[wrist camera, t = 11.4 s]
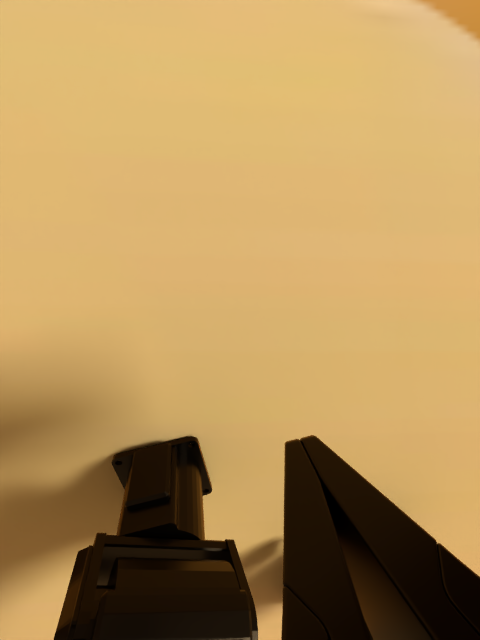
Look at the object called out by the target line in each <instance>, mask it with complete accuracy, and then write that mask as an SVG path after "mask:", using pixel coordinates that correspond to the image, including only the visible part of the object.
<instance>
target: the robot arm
mask: <svg viewBox="0 0 480 640" xmlns="http://www.w3.org/2000/svg"><path fill="white" fill-rule="evenodd" d="M190 443H193V444H190ZM119 460H120V461H119ZM112 466H113V467H114V469H115V471H116V473H117V475H118V477H119V479H120V481H121V483H122V485H123V487H124V489H125V493H124V498H123V503H122V509H121V514H120V519H119V525H118V530H117V535H106V533H97V534H96V538H95V541H94V544H93V546H89V547H87V548H85V549H83V550H81V551H78V554H77V558H76V561H75V565H74V568H73V572H72V575H71V579H70V583H69V586H68V590H67V593H66V597H65V601H64V604H63V608H62V611H61V615H60V619H59V622H58V626H57V629H56V633H55V637H54V640H258V627H257V617H256V610H255V606H254V602H253V598H252V595H251V592H250V589H249V586H248V582H247V579H246V576H245V573H244V570H243V567H242V564H241V561H240V558H239V555H238V551H237V548H236V545H235V542H234V540H228V539H226V540H225V541H216V540H205V533H204V514H203V495H207V494H210V493H211V492H212V485H211V482H210V478H209V475H208V472H207V468H206V465H205V462H204V458H203V455H202V451H201V448H200V445H199V441H198V439H197V438H196V437H187V438H183V439H179V440H175V441H170V442H166V443H162V444H158V445H154V446H149V447H145V448H141V449H137V450H132V451H128V452H124V453H120V454H116V455H115V456H113V459H112ZM283 585H284V587H283V615H282V640H371V638H370V635H369V632H368V629H367V626H368V628H369V630H370V633H371V635H372V637H373V639H374V640H480V577H479V576H478V575H477V574H475V573H474V572H473V571H472V570H471V569H469V568H468V567H467V566H466V565H465V564H463V563H462V562H461V561H460V560H459V559H457V558H456V557H455V556H454V555H453V554H452V553H451V552H449V551H448V550H447V549H446V548H445V547H444V546H443V545H441V544H440V543H438V544H437V542H436V540H435V539H434V538H433V537H432V536H431V535H430V534H428V533H427V532H426V531H425V530H424V529H423V528H421V527H420V526H419V525H418V524H417V523H416V522H415V521H413V520H412V519H411V518H410V517H409V516H408V515H406V514H405V513H404V512H403V511H402V510H401V509H399V508H398V507H397V506H396V505H395V504H394V503H392V502H391V501H390V500H389V499H388V498H387V497H386V496H384V495H383V494H382V493H381V492H380V491H379V490H377V489H376V488H375V487H374V486H373V485H372V484H370V483H369V482H368V481H367V480H366V479H365V478H364V477H362V476H361V475H360V474H359V473H358V472H357V471H355V470H354V469H353V468H352V467H351V466H350V465H348V464H347V463H346V462H345V461H344V460H343V459H342V458H340V457H339V456H338V455H337V454H336V453H335V452H333V451H332V450H331V449H330V448H329V447H328V446H326V445H325V444H324V443H323V442H322V441H321V440H320V439H318V438H317V437H316V436H314V435H311V436H307V437H303V438H301V439H300V440H299V439H295V440H291V441H287V442H286V443H285V476H284V559H283ZM365 621H366V622H365ZM366 624H367V626H366Z"/></svg>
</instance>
